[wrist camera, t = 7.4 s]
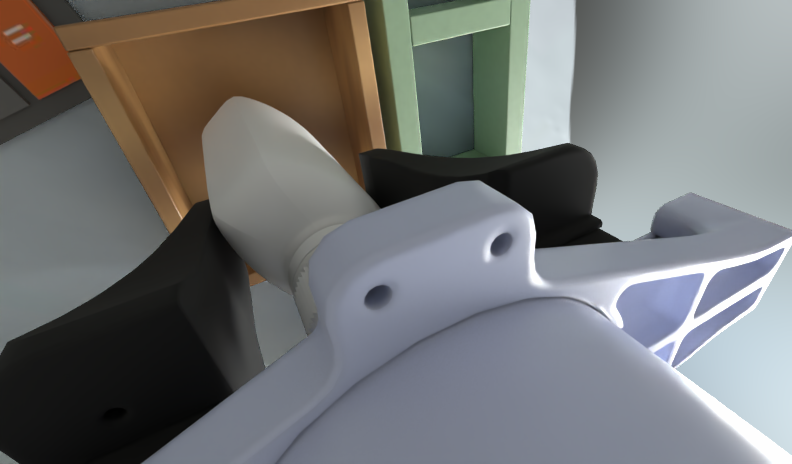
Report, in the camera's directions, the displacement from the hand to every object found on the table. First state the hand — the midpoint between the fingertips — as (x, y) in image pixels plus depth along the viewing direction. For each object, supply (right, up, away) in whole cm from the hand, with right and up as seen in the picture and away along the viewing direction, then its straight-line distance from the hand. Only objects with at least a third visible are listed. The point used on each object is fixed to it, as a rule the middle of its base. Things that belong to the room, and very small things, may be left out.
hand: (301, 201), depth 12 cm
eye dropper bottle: (-2, +2, +4) cm, 5 cm away
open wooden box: (-4, +4, +7) cm, 8 cm away
